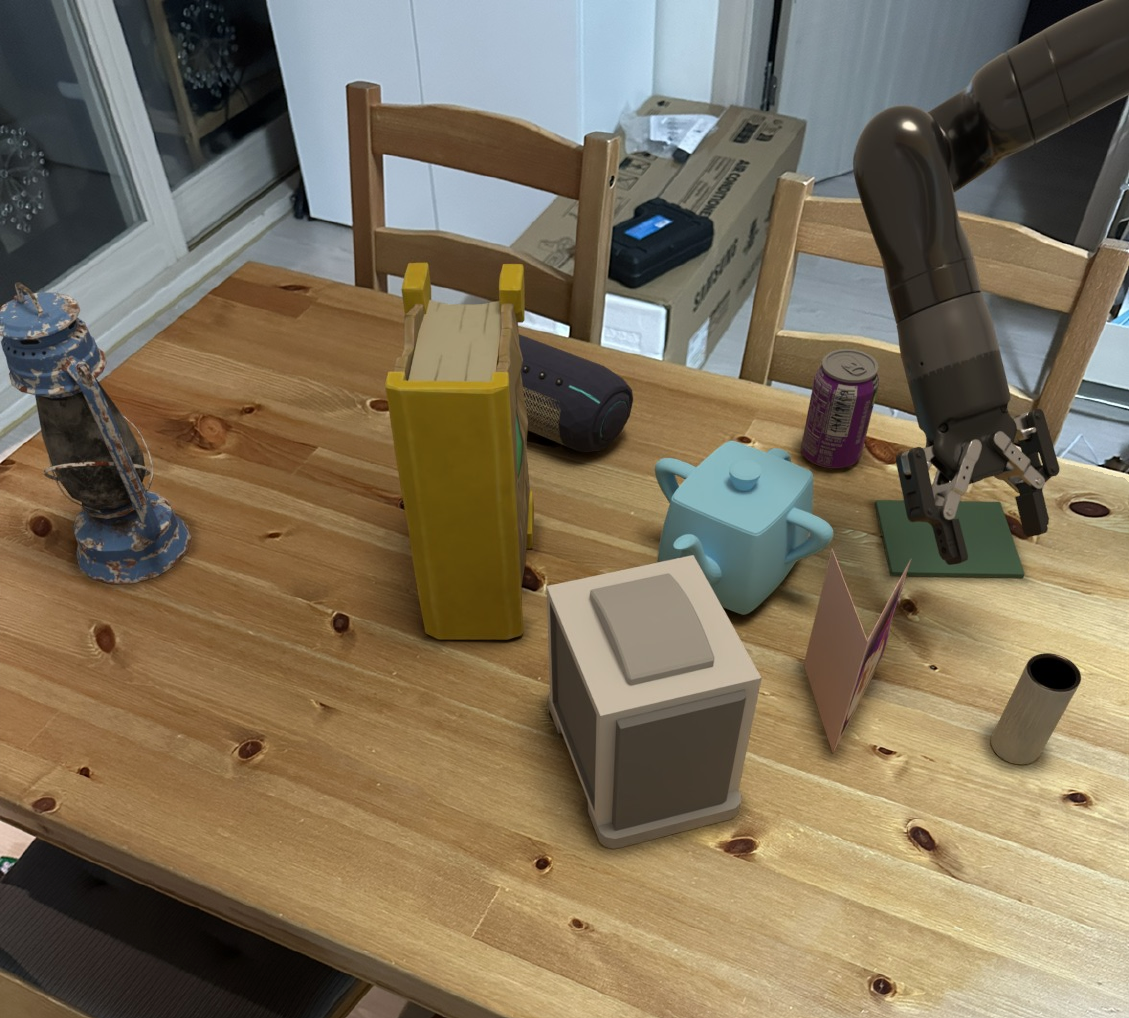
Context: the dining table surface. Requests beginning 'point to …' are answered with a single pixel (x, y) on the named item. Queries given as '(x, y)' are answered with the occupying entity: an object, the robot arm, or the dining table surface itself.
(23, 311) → the lantern
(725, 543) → the teapot
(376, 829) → the dining table surface
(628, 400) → the portable speaker
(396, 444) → the decorative book
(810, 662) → the greeting card
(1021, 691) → the planter
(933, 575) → the green mat
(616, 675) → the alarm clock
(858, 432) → the beverage can
